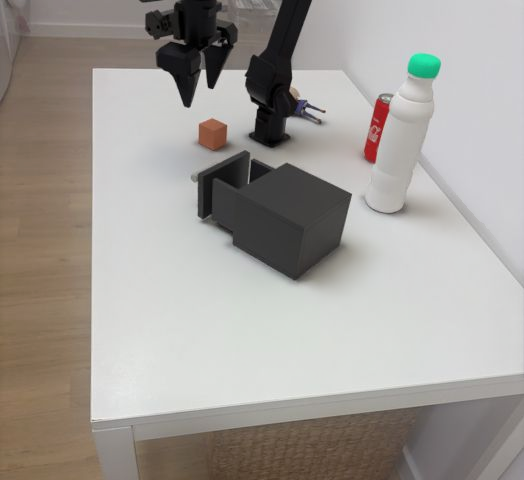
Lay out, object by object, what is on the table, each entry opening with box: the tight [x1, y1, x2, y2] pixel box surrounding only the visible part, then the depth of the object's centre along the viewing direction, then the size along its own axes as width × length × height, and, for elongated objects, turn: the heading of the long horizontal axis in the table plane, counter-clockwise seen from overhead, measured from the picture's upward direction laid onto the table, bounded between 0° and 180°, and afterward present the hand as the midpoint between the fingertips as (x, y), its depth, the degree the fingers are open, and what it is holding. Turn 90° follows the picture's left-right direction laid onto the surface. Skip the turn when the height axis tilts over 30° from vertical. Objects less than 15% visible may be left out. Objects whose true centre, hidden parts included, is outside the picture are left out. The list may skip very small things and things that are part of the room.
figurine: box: [289, 86, 327, 124], centre depth 118 cm, size 6×4×15 cm
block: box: [198, 117, 228, 151], centre depth 105 cm, size 4×4×4 cm
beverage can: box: [363, 92, 395, 164], centre depth 104 cm, size 5×5×12 cm
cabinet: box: [232, 162, 353, 281], centre depth 82 cm, size 13×13×10 cm
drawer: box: [190, 149, 276, 232], centre depth 86 cm, size 16×11×8 cm
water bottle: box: [364, 52, 442, 214], centre depth 88 cm, size 7×7×25 cm
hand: (199, 97), depth 93 cm, fingers open, 9 cm apart
